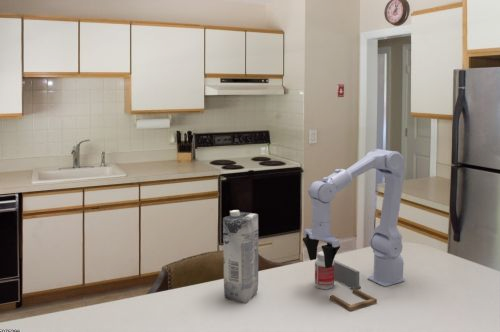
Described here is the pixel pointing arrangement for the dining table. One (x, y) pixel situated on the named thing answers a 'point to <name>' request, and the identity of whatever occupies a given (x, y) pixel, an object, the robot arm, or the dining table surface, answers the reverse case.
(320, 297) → the dining table surface
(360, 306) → the walnut bracket
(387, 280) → the robot arm
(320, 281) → the pill bottle
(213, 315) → the dining table surface
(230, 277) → the juice carton
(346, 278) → the slate screen
